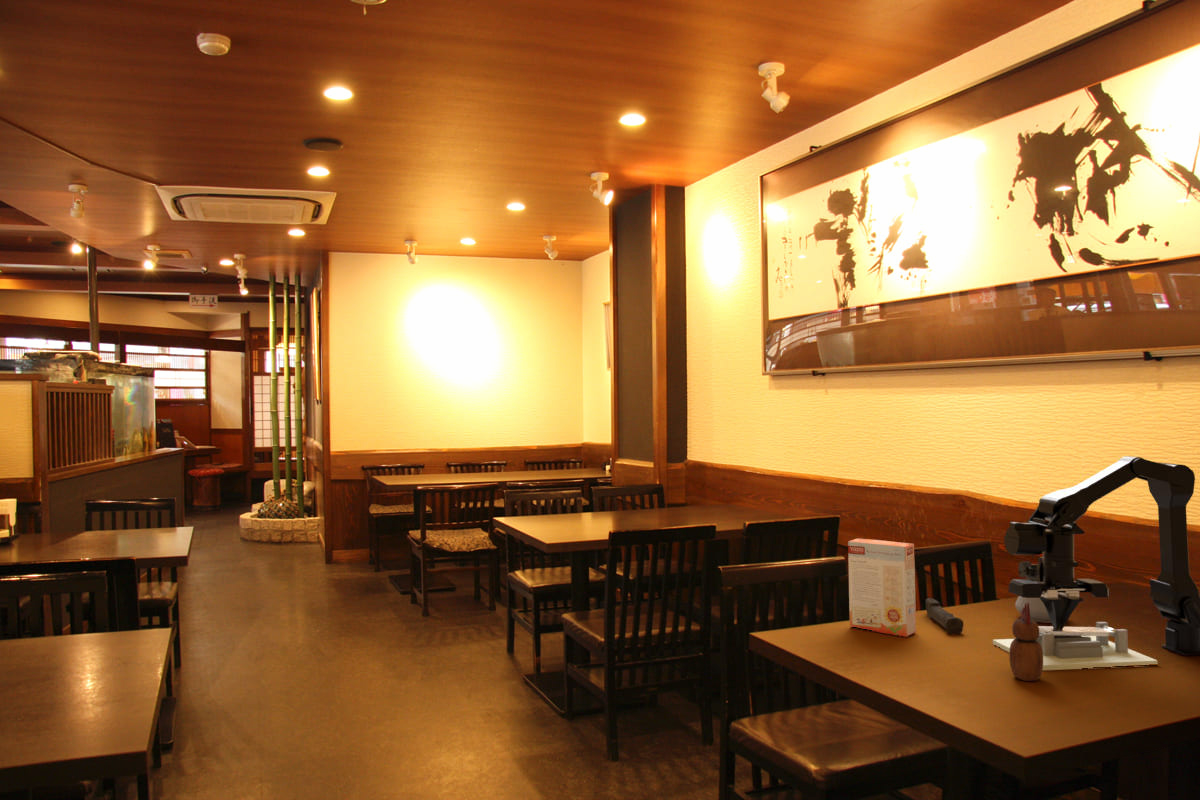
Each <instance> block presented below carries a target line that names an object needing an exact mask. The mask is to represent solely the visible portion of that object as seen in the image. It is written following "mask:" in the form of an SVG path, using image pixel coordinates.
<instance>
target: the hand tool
mask: <svg viewBox="0 0 1200 800" xmlns="http://www.w3.org/2000/svg"><path fill="white" fill-rule="evenodd" d="M925 608H926V610H925V611H926V614H927V617H928V618H929V619H930V620H933V621H935V622H937V623H938V624H939V625H940V626H942V627H943V628H944V629H945V632H946V633H947V634H949V635H960V634H961V633H963V630H964V629H963V628H964V626H965V624H964V621H963V619H962V618H959V617H955V616H954V614H953V613H952V612H951V613H950V612H948V611H947V610H945V609H944V608H943V607H942V605H941V603H940V602H939V601H938V600H937V599H934V598H932V597H928V598H925Z"/></svg>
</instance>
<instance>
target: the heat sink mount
mask: <svg viewBox="0 0 1200 800" xmlns="http://www.w3.org/2000/svg"><path fill="white" fill-rule="evenodd" d="M1103 626H1108V627H1109V623H1108V622H1106V621H1096V622H1095V627H1103ZM1114 629H1115V637H1114V642H1113V641H1110V640H1109V636H1070V635H1054V634H1052V633H1039V637H1038V638H1037V639H1036V640H1037V641H1038V642H1039V643H1040V645H1041V647H1042V650H1043V669H1042V671H1057V670H1061V671H1063V670H1064V671H1065V670H1082V668H1088V669H1094V668H1093V667H1111V668H1113V667H1112V666H1127V665H1149V664H1158V660H1157V659H1155V658H1152V657H1150V656H1147V655H1145V654H1142V653H1139V652H1138V651H1135V650H1133V649H1130V648H1129V647H1128V646H1129V643H1128V642H1129V641H1128V638H1129V637H1128V629H1124V628H1120V629H1118V628H1117V629H1116V628H1114ZM1014 639H1015V638H1002V639H1001V638H1000V639H999V638H998V639H992V644H993V645H994V646H995V645H996V646H995V647H997V648H999V647H1000V648H999V649H1001V650H1003V651H1005V652H1007V653H1009V652H1010V645H1011V642H1012V641H1013V640H1014Z"/></svg>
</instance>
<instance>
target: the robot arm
mask: <svg viewBox="0 0 1200 800" xmlns="http://www.w3.org/2000/svg"><path fill="white" fill-rule="evenodd" d="M1195 475H1196V474H1195V472H1194V471H1193V470H1192V469H1191V468H1190V467H1189V466H1187V465H1186V464H1178V463H1177V464H1176V463H1167V462H1156V461H1151V460H1149V459H1145V458H1144V457H1140V456H1131V455H1129V456H1128V455H1127V456H1122V457H1121V458H1119V460H1118V461H1117V462H1115V463H1113V464H1110V465H1108V466H1107V467H1106V468H1104V469H1102V470H1100V471H1099V472H1096V473H1095V474H1094V475H1091V476H1090V477H1089V478H1087V479H1085V480H1084V481H1081V482H1080V483H1078V484H1076V485H1074V486H1071V487H1068V488H1063V489H1058V490H1056V491H1052V492H1050V493H1048V494H1045V495H1043V496H1042V497H1041V498H1040V499H1039V500H1038V506H1037V507H1036V508H1035V510H1034V512H1033V513H1032V514H1031V515H1030V517H1029V518H1028V520H1027V521H1026V522H1018V521H1010V522H1009V527H1008V528H1007V529H1006V530H1005V531H1006V532H1005V534H1004V535H1003V536H1004V537H1003V543H1004V546H1005V550H1006V552H1007V553H1008V554H1009V555H1012V556H1013V555H1014V556H1017V555H1018V556H1019V555H1021V556H1039V555H1041V554H1042V556H1041V557H1040V556H1039V557H1038V561H1037V563H1036V564H1037V565H1032V564H1033V563H1031V561H1029V560H1027V561H1020V562H1018V574H1019V577H1020V578H1018V579H1017V578H1016V579H1015V578H1013V579H1011V580H1010V582H1009V583H1008V592H1009V593H1011V594H1013V595H1016V596H1018V597H1019V596H1021V597H1024V598H1040V600H1041V601H1042V602H1043V604H1044V606H1045V608H1046V610H1047V612H1048V615H1049V618H1050V620H1051V626H1053V628H1054V629H1057V630H1058V629H1060V630H1062V629H1063V627H1066V624H1067V622H1068V620H1069V619H1070V617H1071V616H1072V613H1073V612H1074V611H1075V610H1076V608H1077V607H1078V605H1079V604H1080V603H1081V602H1084V600H1085V599H1084V598H1083V597H1080V593H1090V594H1091V595H1092V596H1093V597H1094V598H1109V595H1110V594H1109V592H1110V591H1109V588H1108V586H1107V584H1106V583H1105V582H1102V581H1099V580H1096V579H1092V578H1075V568H1078V567H1079V561H1075V535H1085V534H1086V532H1085V530H1083V529H1082V528H1081V527H1080V526H1079V525H1078V524H1077V522H1076V521H1078V520H1079V519H1080V518H1081V517H1082V516H1083V515H1085V514H1086V513H1087V511H1088V509H1089V508H1090V507H1091V505H1092V504H1094V503H1095V502H1097V501H1098V500H1100V499H1102V498H1104V497H1105V496H1107V495H1108V494H1110V493H1112V492H1113V491H1115V490H1117V489H1120V488H1121V487H1123V486H1124V485H1126V484H1128V483H1129V482H1131V481H1133V480H1135V479H1139V480H1142V481H1146V482H1147V486H1148V491H1149V492H1150V494H1151V496H1152V498H1153V500H1154V501H1155V502H1156V505H1157V515H1158V516H1157V517H1158V532H1159V533H1158V534H1159V535H1158V537H1159V550H1160V551H1159V555H1160V556H1159V557H1160V558H1159V559H1160V573H1159V574H1158V576H1157V578H1156V579H1153V578H1151V579H1150V580H1149V586H1150V595H1149V598H1150V599H1152V603H1153V604H1154V606H1155V607H1156V608H1157V609H1158V612H1159V614H1160V616H1161V618H1163V619H1167V620H1166V627H1165V644H1163V643H1162V644H1161V648H1164V649H1166V648H1167V650H1170V651H1172V652H1175V653H1177V654H1180V655H1183V656H1200V591H1199V588H1198V586H1197V584H1196V583H1195V581H1194V579H1193V578H1192V576H1191V573H1190V561H1189V541H1188V538H1189V537H1188V523H1187V521H1188V520H1187V519H1188V518H1187V505H1188V503H1189V502H1190V500H1191V498H1192V497H1193V495H1194V491H1195V483H1196V476H1195ZM1034 581H1038V582H1043V584H1040V583H1037V582H1034Z"/></svg>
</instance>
